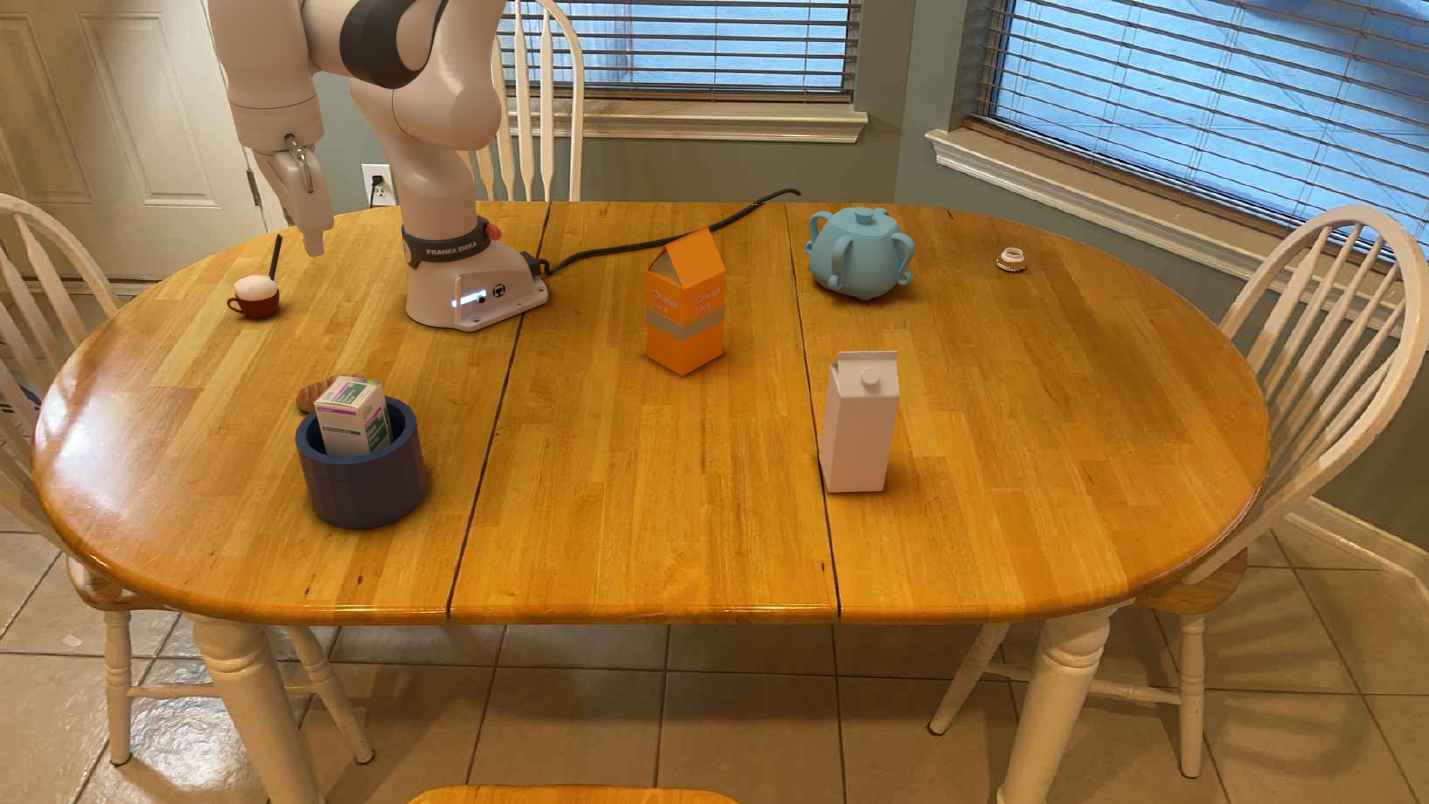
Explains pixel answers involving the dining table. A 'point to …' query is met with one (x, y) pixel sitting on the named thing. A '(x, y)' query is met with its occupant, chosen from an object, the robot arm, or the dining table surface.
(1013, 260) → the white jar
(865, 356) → the milk carton
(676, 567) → the dining table surface
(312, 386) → the pastry
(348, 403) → the syrup box
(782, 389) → the dining table surface
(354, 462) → the dark blue bin
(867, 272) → the decorative pot
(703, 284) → the orange juice
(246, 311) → the cocoa
